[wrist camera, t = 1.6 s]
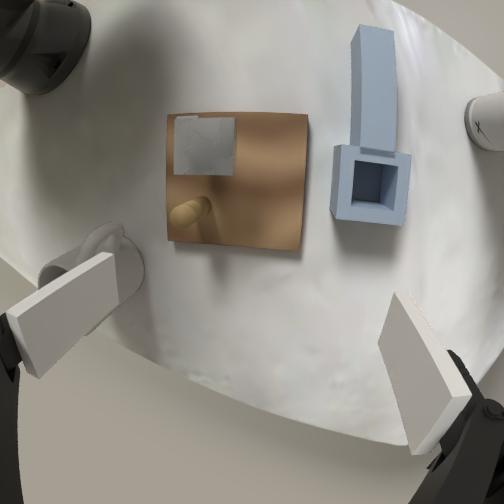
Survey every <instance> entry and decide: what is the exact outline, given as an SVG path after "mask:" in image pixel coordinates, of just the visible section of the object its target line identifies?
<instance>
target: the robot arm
mask: <svg viewBox="0 0 504 504" xmlns="http://www.w3.org/2000/svg"><path fill="white" fill-rule="evenodd" d="M90 23H91V21H90V14H89V12H88V10H87V8H86V7H85V6H83V5H82V4H80V3H77V2H75V1H73V0H0V79H1V80H3V81H4V82H6V83H8V84H9V85H11V86H13V87H14V88H16V89H18V90H19V91H21V92H23V93H26V94H35V95H41V94H45V93H47V92H49V91H51V90H53V89H54V88H56V87H57V86H58V85H59V84H60V83H61V82H62V81H63V80H64V79H65V78H66V77H67V76H68V75H69V73H70V72H71V71H72V69H73V68H74V66H75V65H76V63H77V62H78V60H79V58H80V56H81V54H82V52H83V50H84V48H85V45H86V43H87V40H88V36H89V32H90ZM118 304H119V297H118V289H117V280H116V269H115V257H114V254H112V253H106V252H101V253H99V254H98V255H96V256H94V257H92V258H91V259H89V260H87V261H85V262H84V263H82V264H80V265H79V266H77V267H75V268H73V269H72V270H70V271H68V272H67V273H65V274H63V275H62V276H60V277H58V278H57V279H55V280H54V281H52V282H50V283H49V284H47V285H45V286H44V287H42V288H41V289H39V290H38V291H36V292H35V293H33V294H31V295H30V296H28V297H27V298H25V299H24V300H22V301H21V302H19V303H18V304H16V305H14V306H13V307H12V308H10V309H8V310H7V311H6V312H5V313H4V314H2V315H1V316H0V504H24V502H23V496H22V488H21V481H20V471H19V458H18V434H17V418H18V392H19V379H20V368H19V367H18V364H19V363H20V362H21V361H23V363H24V366H25V368H26V371H27V372H28V373H29V374H31V375H33V376H35V377H36V378H38V379H40V378H41V377H42V376H43V375H44V374H45V373H46V372H47V371H48V370H49V369H50V368H51V367H52V366H53V365H54V364H55V363H56V362H57V361H58V360H59V359H60V358H61V357H62V356H63V355H64V354H65V353H66V352H68V350H70V349H71V348H72V347H73V346H74V345H75V344H76V343H77V342H78V341H79V340H80V339H81V338H82V337H83V336H84V335H85V334H86V333H88V332H89V331H90V330H91V329H92V328H93V327H94V326H95V325H96V324H97V323H98V322H99V321H101V320H102V319H103V318H104V317H105V316H106V315H107V314H108V313H109V312H110V311H111V310H113V309H114V308H115V307H116V306H117V305H118ZM378 345H379V348H380V351H381V354H382V357H383V360H384V363H385V366H386V369H387V372H388V375H389V378H390V381H391V384H392V387H393V391H394V394H395V397H396V400H397V404H398V407H399V411H400V414H401V418H402V421H403V425H404V429H405V432H406V436H407V440H408V444H409V448H410V452H411V455H418V454H425V453H431V452H432V450H433V449H434V448H435V447H436V445H437V444H438V443H439V442H440V445H441V448H442V451H441V452H440V454H439V455H438V456H437V457H436V458H435V459H434V460H433V461H432V462H431V464H430V465H429V466H428V467H427V469H430V470H429V472H428V474H427V475H426V477H425V479H424V480H423V482H422V484H421V485H420V487H419V488H418V490H417V491H416V493H415V494H414V496H413V498H412V499H411V501H410V502H409V503H408V504H504V408H503V406H502V405H501V404H500V403H498V402H496V401H495V400H492V399H484V397H483V395H482V394H481V392H480V390H479V389H478V387H477V385H476V383H475V382H474V380H473V378H472V377H471V375H469V374H470V373H469V372H468V370H467V368H465V365H464V363H463V362H462V360H461V359H460V357H458V356H457V355H456V354H455V353H454V352H453V351H452V350H446V349H445V347H444V345H443V344H442V342H441V341H440V339H439V337H438V336H437V334H436V333H435V331H434V330H433V328H432V327H431V325H430V324H429V322H428V321H427V319H426V318H425V316H424V315H423V313H422V312H421V310H420V309H419V307H418V306H417V304H416V303H415V302H414V300H413V299H412V297H411V296H410V294H409V293H401V292H394V293H393V297H392V300H391V304H390V307H389V310H388V314H387V317H386V320H385V323H384V326H383V329H382V332H381V335H380V338H379V341H378Z"/></svg>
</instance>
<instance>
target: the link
mask: <svg viewBox="0 0 504 504" xmlns="http://www.w3.org/2000/svg"><path fill="white" fill-rule="evenodd" d="M351 68H352V96H351V132H350V145H342V144H341V145H337V146H334V157H333V173H332V186H331V199H330V210H331V212H332V214H333V215H334V217H335V219H341V220H352V221H361V222H371V223H380V224H389V225H398V226H404V221H405V214H406V207H407V199H408V190H409V180H410V169H411V156H412V155H409V154H404V153H398V152H395V146H396V120H397V82H396V57H395V43H394V31H391V30H387V29H382V28H377V27H372V26H367V25H361V24H360V25H359V27H358V29H357V31H356V33H355V35H354V37H353V39H352V41H351ZM355 161H363V162H370V163H378V164H383V166H382V178H381V188H380V198H379V202H371V201H362V200H353V199H352V188H353V176H354V163H355Z"/></svg>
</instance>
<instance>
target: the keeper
mask: <svg viewBox="0 0 504 504" xmlns="http://www.w3.org/2000/svg"><path fill="white" fill-rule="evenodd" d="M237 127H238V119H237V118H235V117H218V118H203V117H201V116H198V115H195V116H177V117H176V119H175V125H174V175H228V176H233V175H236V154H237Z"/></svg>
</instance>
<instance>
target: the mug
mask: <svg viewBox="0 0 504 504" xmlns="http://www.w3.org/2000/svg"><path fill="white" fill-rule="evenodd" d="M123 235H124V228H123V226H122V225H121V224H119V223H117V222H109V223H106V224H104V225H102V226H100V227H98V228H97V229H95V230H94V231H92V232H91V233H90V234H89V235H88V237H87V238H86V240H85V241H84V243H83V245H81V246H79V247H77V248H75V249H74V250H72V251H70V252H68V253H66V254H64V255H62V256H60V257H58V258H56V259H54V260H53V261H51V262H49V263H48V264H46V265H45V266H44V267H43V268H42V270H41V271H40V274H39V278H38V290H39V289H41V288H42V287H44V286H45V285H47V284H49V283H50V282H52V281H54V280H55V279H57V278H58V277H60V276H62V275H63V274H65V273H67V272H68V271H70V270H72V269H73V268H75V267H77V266H79V265H80V264H82V263H84V262H85V261H87V260H89V259H91V258H92V257H94V256H96V255H98V254H99V253H101V252H106V253H112V254H114V257H115V269H116V280H117V289H118V297H119V304H118V305H117V306H116V307H115V308H114V309H113V310H111V311H110V312H109V313H108V314H107V315H106V316H105V317H104V318H103V319H102V320H101V321H99V322H98V323H97V324H96V325H95V326H94V327H93V328H92V329H91V330H90V331H89V332H88V333H86V334H85V335H84V336H86V335H88V334H90V333H91V332H92V331H93V330H94V329H96V328H97V327H98V326H99V325H100V324H101V323H102V322H103V321H104V320H105V319H106V318H107V317H108V316H109V315H110V314H111V313H112V312H114V311H115V310H116V309H117V308H118V307H119V306H120V305H121V304H122V303H123V302H124V301H125V300H127V299H128V298H129V297H130V296H131V295H133V294H134V293H135V292H136V291H137V290H138V289H139V287H140V286H141V284H142V281H143V278H144V265H143V261H142V258H141V255H140V253H139V251H138V250H137V248H136V247H135V245H134V244H133V243H132V242H131V241H130V240H128V239H127V238H126V237H124V236H123Z"/></svg>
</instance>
